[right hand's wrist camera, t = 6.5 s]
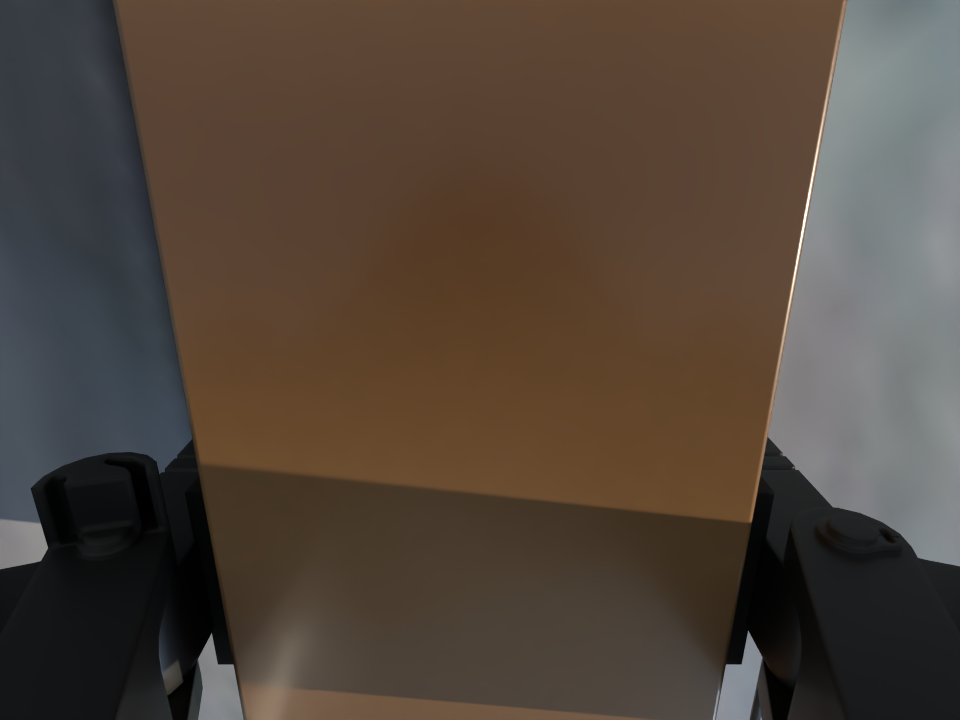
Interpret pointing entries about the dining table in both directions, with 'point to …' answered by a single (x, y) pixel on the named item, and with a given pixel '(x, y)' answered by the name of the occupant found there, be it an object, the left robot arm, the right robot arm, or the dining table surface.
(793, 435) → the dining table surface
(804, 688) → the right robot arm
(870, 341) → the dining table surface
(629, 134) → the post
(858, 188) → the dining table surface
